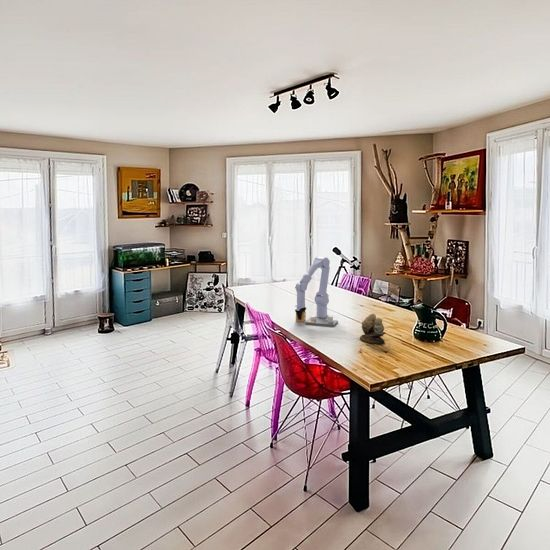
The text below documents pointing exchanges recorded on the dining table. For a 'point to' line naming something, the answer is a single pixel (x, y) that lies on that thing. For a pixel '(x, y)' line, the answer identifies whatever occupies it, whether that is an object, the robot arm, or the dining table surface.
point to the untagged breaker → (330, 319)
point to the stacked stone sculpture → (372, 330)
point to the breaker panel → (321, 322)
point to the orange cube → (302, 317)
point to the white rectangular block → (313, 318)
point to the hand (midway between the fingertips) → (300, 318)
